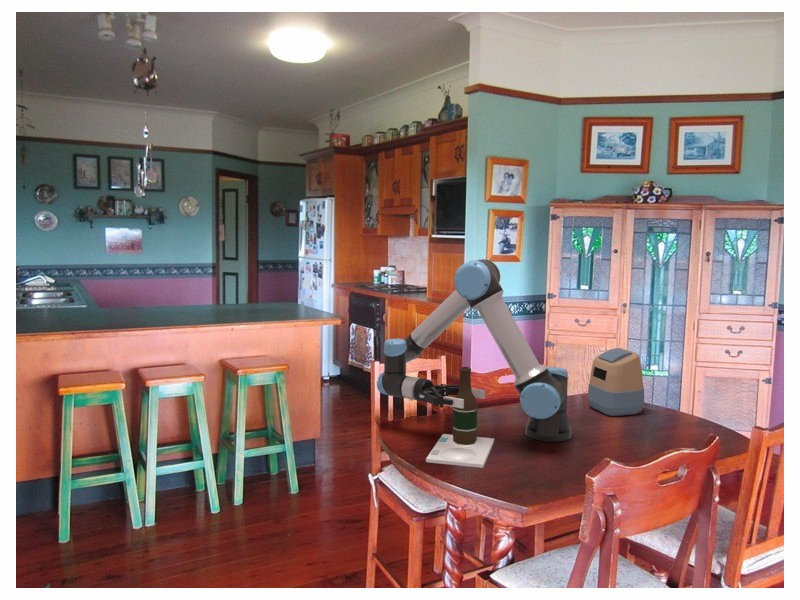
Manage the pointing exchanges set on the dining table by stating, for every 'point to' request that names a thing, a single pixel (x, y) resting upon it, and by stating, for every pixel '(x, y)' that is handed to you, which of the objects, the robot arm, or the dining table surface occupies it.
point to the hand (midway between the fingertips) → (474, 399)
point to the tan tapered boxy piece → (616, 383)
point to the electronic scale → (460, 452)
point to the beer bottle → (465, 412)
